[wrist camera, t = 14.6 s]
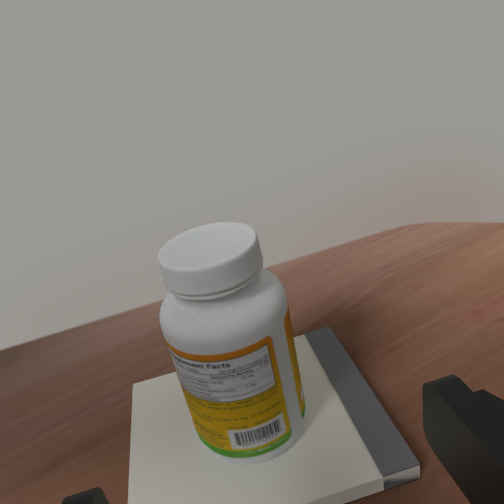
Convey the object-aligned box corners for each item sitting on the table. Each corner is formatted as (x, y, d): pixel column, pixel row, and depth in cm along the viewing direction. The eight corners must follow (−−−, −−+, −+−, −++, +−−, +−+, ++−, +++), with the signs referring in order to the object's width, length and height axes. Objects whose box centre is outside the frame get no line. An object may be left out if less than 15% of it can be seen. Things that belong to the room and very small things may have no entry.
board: (131, 575, 17) (124, 562, 17) (137, 394, 26) (132, 382, 25) (419, 477, 18) (420, 463, 18) (330, 337, 27) (329, 325, 27)
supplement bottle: (241, 368, 25) (201, 209, 21) (327, 399, 22) (301, 220, 18) (175, 439, 21) (110, 265, 17) (267, 489, 18) (215, 291, 14)
